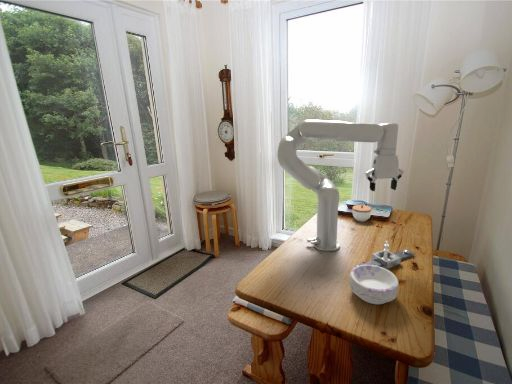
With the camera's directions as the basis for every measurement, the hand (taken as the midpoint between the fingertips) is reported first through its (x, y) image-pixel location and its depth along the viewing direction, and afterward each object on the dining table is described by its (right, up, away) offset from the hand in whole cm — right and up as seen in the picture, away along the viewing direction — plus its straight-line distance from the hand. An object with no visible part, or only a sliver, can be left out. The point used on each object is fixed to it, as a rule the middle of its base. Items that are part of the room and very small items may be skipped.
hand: (382, 189), depth 116 cm
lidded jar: (+7, -18, +40) cm, 44 cm away
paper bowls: (-17, -38, -26) cm, 49 cm away
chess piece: (-2, -31, -6) cm, 32 cm away
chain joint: (-2, -31, -6) cm, 32 cm away
